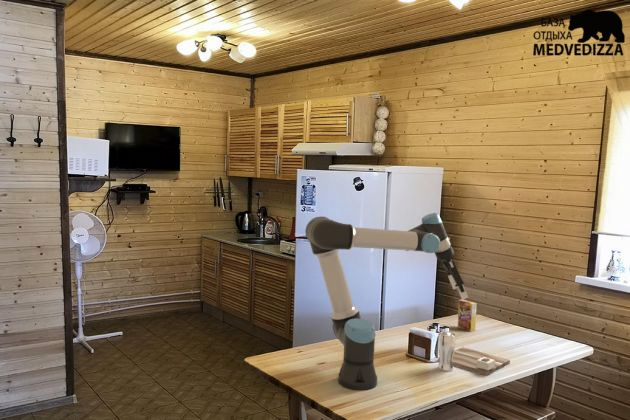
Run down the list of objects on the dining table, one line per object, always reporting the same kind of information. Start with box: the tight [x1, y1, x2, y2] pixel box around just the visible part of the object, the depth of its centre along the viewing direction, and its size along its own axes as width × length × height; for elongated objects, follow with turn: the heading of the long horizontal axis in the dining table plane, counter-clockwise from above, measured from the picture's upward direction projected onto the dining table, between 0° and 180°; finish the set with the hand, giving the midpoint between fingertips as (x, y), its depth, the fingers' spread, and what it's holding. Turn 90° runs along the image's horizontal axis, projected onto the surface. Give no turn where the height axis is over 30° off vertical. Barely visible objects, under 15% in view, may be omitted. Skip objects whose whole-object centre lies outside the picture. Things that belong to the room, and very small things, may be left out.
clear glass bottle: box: [437, 330, 457, 372], centre depth 223 cm, size 7×7×15 cm
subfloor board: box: [437, 346, 511, 377], centre depth 232 cm, size 22×22×2 cm
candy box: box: [457, 299, 478, 333], centre depth 282 cm, size 9×4×15 cm, turn 36°
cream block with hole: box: [477, 357, 495, 370], centre depth 221 cm, size 6×5×3 cm
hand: (460, 293), depth 226 cm, fingers open, 13 cm apart
